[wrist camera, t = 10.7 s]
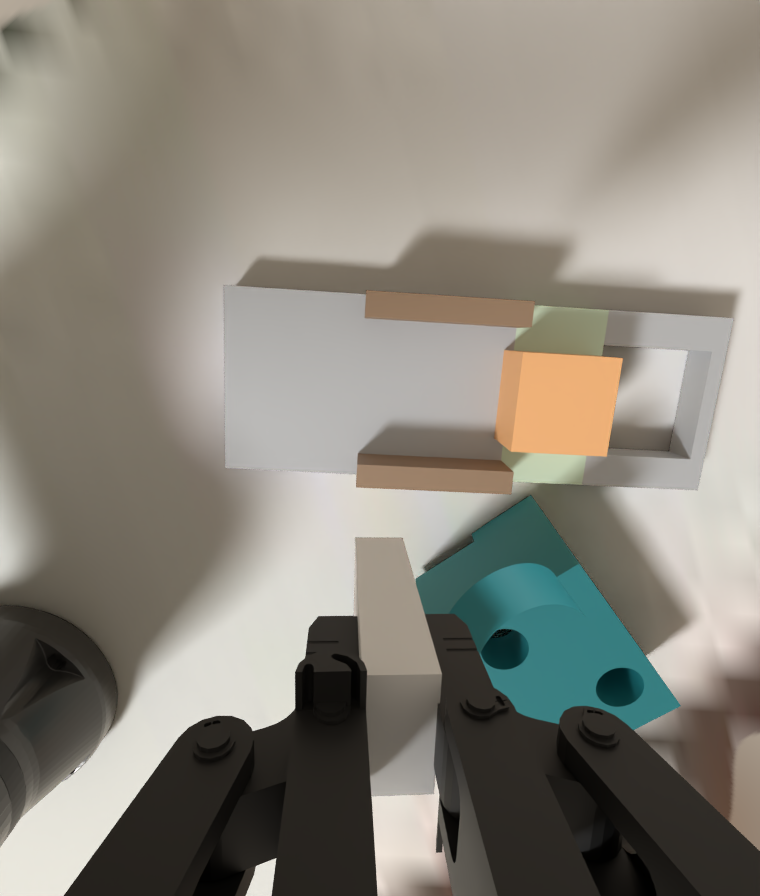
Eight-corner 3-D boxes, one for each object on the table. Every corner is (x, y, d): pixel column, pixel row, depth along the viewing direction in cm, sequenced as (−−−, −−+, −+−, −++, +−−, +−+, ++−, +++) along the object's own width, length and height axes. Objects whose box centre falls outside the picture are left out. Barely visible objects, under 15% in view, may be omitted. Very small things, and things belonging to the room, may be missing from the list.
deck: (234, 459, 37) (212, 480, 31) (233, 288, 34) (209, 279, 29) (676, 480, 38) (727, 504, 33) (708, 319, 36) (769, 316, 30)
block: (494, 438, 34) (511, 451, 30) (504, 350, 33) (523, 352, 29) (579, 442, 35) (606, 456, 31) (592, 355, 33) (623, 358, 29)
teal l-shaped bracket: (414, 569, 40) (420, 658, 30) (530, 494, 38) (579, 563, 28) (535, 719, 43) (577, 843, 33) (647, 658, 41) (727, 772, 31)
